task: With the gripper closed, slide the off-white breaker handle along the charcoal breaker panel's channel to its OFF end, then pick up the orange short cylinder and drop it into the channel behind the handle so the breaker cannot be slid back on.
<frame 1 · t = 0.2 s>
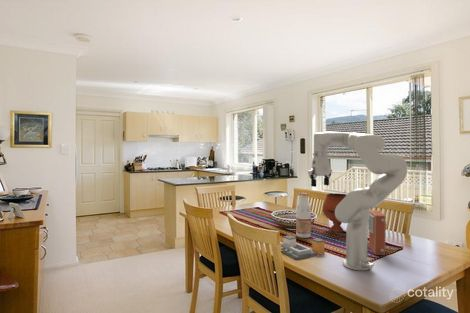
hand: (320, 185, 167), 36 cm above the table, tool pointing down, fingers open, 9 cm apart
breaker panel: (293, 251, 168), on the table
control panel: (376, 251, 168), on the table
goblet: (336, 230, 209), on the table
fruit juice: (303, 236, 196), on the table
orange short cylinder: (318, 252, 166), on the table
breaker handle: (289, 241, 170), point 4 cm above the table, slide at 0.0 cm
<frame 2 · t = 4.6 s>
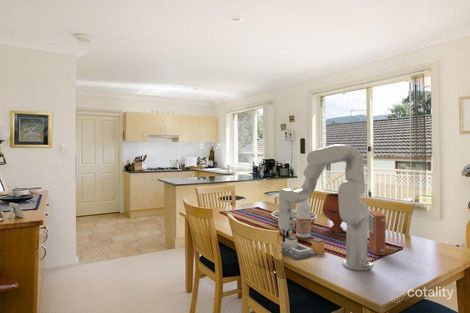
hand: (285, 241, 173), 3 cm above the table, tool pointing down, fingers closed
breaker handle: (291, 242, 169), point 5 cm above the table, slide at 1.3 cm, touching gripper
everything else where it was.
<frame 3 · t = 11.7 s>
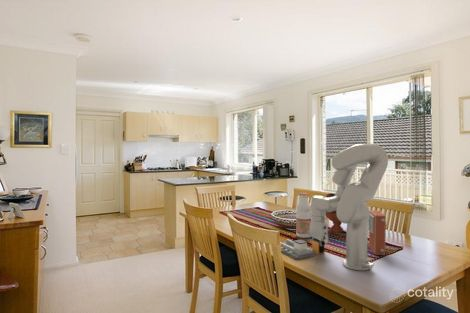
hand: (318, 250, 166), 1 cm above the table, tool pointing down, fingers closed on orange short cylinder, 4 cm apart
orange short cylinder: (318, 252, 166), on the table, touching gripper
breaker handle: (300, 246, 162), point 5 cm above the table, slide at 9.0 cm
everything else where it was.
when the fingers open (4 cm above the table, at t = 17.7 s): orange short cylinder drops 1 cm, resting on breaker panel.
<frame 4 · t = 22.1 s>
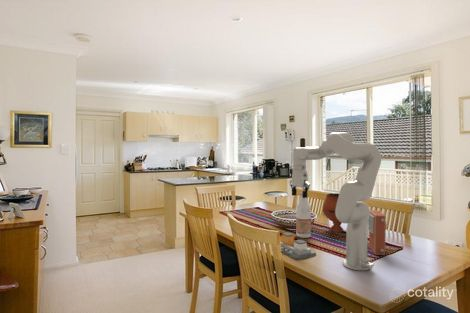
hand: (299, 196, 180), 28 cm above the table, tool pointing down, fingers open, 9 cm apart
orange short cylinder: (288, 246, 172), point 1 cm above the table, touching breaker panel
everything else where it was.
at the end: breaker handle slide at 9.0 cm; orange short cylinder 0.3 cm from the target spot on the breaker panel, point 1.5 cm above the breaker panel's base; orange short cylinder tilted 0° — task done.
